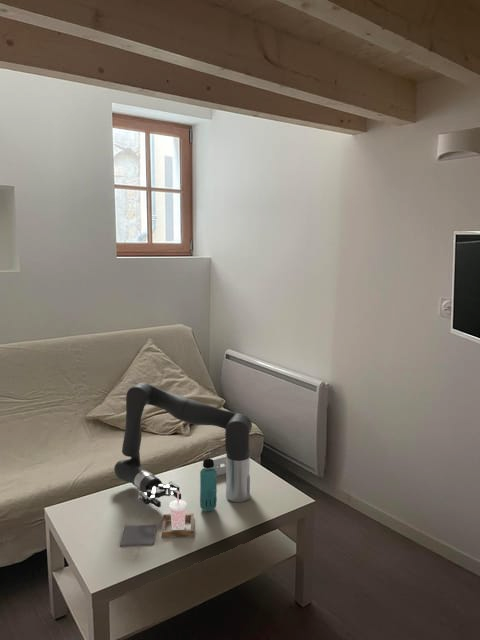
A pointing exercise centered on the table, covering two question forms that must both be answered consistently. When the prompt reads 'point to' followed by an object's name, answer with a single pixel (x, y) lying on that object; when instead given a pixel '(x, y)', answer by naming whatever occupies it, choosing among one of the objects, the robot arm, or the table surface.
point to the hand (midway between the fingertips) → (170, 500)
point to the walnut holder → (177, 532)
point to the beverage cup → (178, 513)
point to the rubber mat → (138, 535)
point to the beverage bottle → (208, 486)
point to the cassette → (217, 466)
